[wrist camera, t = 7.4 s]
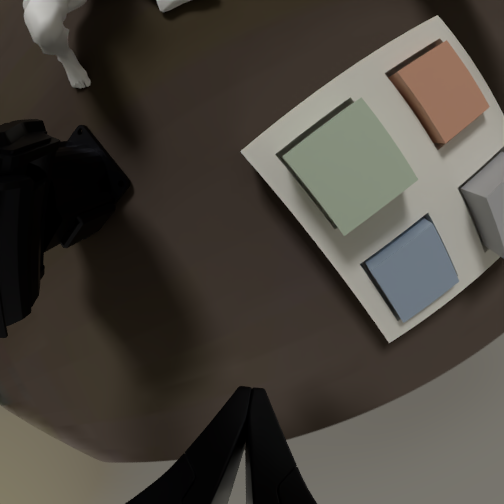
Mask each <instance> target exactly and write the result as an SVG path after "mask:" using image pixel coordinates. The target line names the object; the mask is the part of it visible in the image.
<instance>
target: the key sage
mask: <svg viewBox="0 0 504 504" xmlns="http://www.w3.org/2000/svg"><path fill="white" fill-rule="evenodd" d="M283 158H284V160H285V161H286V162H287V163H288V164H289V166H290V167H291V168H292V169H293V170H294V172H295V173H296V174H297V175H298V177H299V178H300V179H301V180H302V182H303V183H304V184H305V185H306V187H307V188H308V189H309V190H310V192H311V193H312V194H313V195H314V197H315V198H316V199H317V201H318V202H319V203H320V204H321V206H322V207H323V208H324V210H325V211H326V212H327V214H328V215H329V216H330V218H331V219H332V220H333V222H334V223H335V224H336V226H337V227H338V228H339V230H340V231H341V232H342V234H343V235H344V236H345V235H347V234H348V233H349V232H351V231H352V230H353V229H355V228H356V227H357V226H359V225H360V224H361V223H363V222H364V221H365V220H367V219H368V218H369V217H371V216H372V215H373V214H375V213H376V212H377V211H379V210H380V209H381V208H383V207H384V206H385V205H387V204H388V203H389V202H390V201H392V200H393V199H394V198H396V197H397V196H398V195H399V194H401V193H402V192H403V191H405V190H406V189H407V188H408V187H410V186H411V185H412V184H414V183H415V182H416V181H417V180H418V178H417V176H416V175H415V173H414V172H413V170H412V168H411V167H410V165H409V163H408V162H407V160H406V159H405V157H404V156H403V154H402V152H401V151H400V149H399V148H398V146H397V145H396V143H395V142H394V141H393V139H392V138H391V136H390V135H389V133H388V132H387V130H386V129H385V128H384V126H383V125H382V124H381V122H380V121H379V119H378V118H377V117H376V115H375V114H374V113H373V111H372V110H371V109H370V108H369V106H368V105H367V104H366V102H365V101H364V100H363V99H362V97H361V98H360V99H358V100H357V101H355V102H354V103H352V104H351V105H349V106H348V107H346V108H345V109H344V110H342V111H341V112H339V113H338V114H337V115H335V116H334V117H333V118H331V119H330V120H329V121H327V122H326V123H325V124H323V125H322V126H321V127H319V128H318V129H317V130H315V131H314V132H313V133H311V134H310V135H309V136H308V137H306V138H305V139H304V140H302V141H301V142H300V143H299V144H297V145H296V146H295V147H293V148H292V149H291V150H290V151H288V152H287V153H286V154H285V155H283Z"/></svg>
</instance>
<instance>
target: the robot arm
mask: <svg viewBox="0 0 504 504" xmlns="http://www.w3.org/2000/svg"><path fill="white" fill-rule="evenodd" d="M81 130H82V134H81ZM121 181H123V182H124V186H122V185H121ZM129 186H130V181H129V179H128V177H127V176H126V175H125V174H124V173H123V171H122V170H121V169H120V168H119V166H118V165H117V164H116V163H115V161H114V160H113V159H112V158H111V157H110V155H109V154H108V153H107V152H106V150H105V149H104V148H103V147H102V145H101V144H100V143H99V141H98V140H97V139H96V138H95V136H94V135H93V134H92V133H91V131H90V130H89V129H88V127H87V126H85V125H79V126H78V127H77V128H76V129H75V131H74V132H73V134H72V135H71V137H70V138H69V140H68V141H63V142H60V140H59V139H56V138H53V137H51V136H49V135H47V131H46V130H45V126H44V123H43V121H42V120H38V119H28V120H16V121H12V122H10V123H4V124H2V125H0V338H6V337H7V336H8V333H7V328H6V326H9V325H11V324H14V323H16V322H18V321H20V320H22V319H24V318H25V317H26V316H28V315H29V314H30V313H31V307H32V306H33V304H34V303H35V301H36V299H37V297H38V296H39V290H40V280H41V278H42V277H43V275H44V269H45V267H44V265H43V255H44V252H46V251H48V250H49V249H51V248H53V247H55V246H57V245H58V244H61V245H62V247H63V248H68V247H70V246H72V245H74V244H75V243H77V242H79V241H81V240H82V239H86V238H88V237H89V236H90V235H92V234H93V233H95V232H97V231H99V229H100V228H101V227H102V226H103V224H104V223H105V222H106V221H107V219H108V218H109V217H110V216H111V214H112V213H113V212H114V211H115V203H116V202H117V201H118V200H119V199H120V197H121V196H122V195H123V194H124V193H125V192H126V190H127V189H128V188H129ZM245 442H246V447H245ZM244 447H245V451H246V453H245V456H246V504H317V503H316V501H315V500H314V498H313V497H312V495H311V493H310V491H309V490H308V488H307V486H306V484H305V482H304V480H303V478H302V476H301V474H300V472H299V469H298V467H296V466H297V465H296V463H295V461H294V458H293V456H292V453H291V451H290V449H289V446H288V444H287V442H286V439H285V437H284V435H283V432H282V430H281V427H280V425H279V423H278V420H277V418H276V415H275V413H274V411H273V408H272V406H271V403H270V401H269V398H268V396H267V393H266V391H265V389H263V388H251V387H245V386H240V387H238V388H237V390H236V391H235V392H234V394H233V395H232V396H231V397H230V399H229V400H228V401H227V402H226V404H225V405H224V406H223V407H222V409H221V410H220V411H219V412H218V414H217V415H216V416H215V417H214V418H213V420H212V421H211V422H210V423H209V425H208V426H207V427H206V428H205V429H204V430H203V432H202V433H201V434H200V435H199V436H198V438H197V439H196V440H195V441H194V442H193V443H192V445H191V446H190V447H189V448H188V449H187V450H186V451H185V454H183V455H182V456H181V457H180V458H179V459H178V460H177V461H176V462H175V464H174V465H173V466H172V467H171V468H170V469H169V470H168V471H167V472H165V473H164V474H163V475H162V476H161V477H160V478H159V479H158V480H156V481H155V482H154V483H152V484H151V485H150V486H149V487H147V488H146V489H145V490H143V491H142V492H141V493H139V494H138V495H137V496H135V497H134V498H133V499H131V500H130V501H128V502H127V503H126V504H227V503H228V500H229V497H230V494H231V491H232V488H233V484H234V481H235V478H236V474H237V471H238V468H239V464H240V461H241V458H242V454H243V451H244Z"/></svg>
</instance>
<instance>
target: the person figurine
mask: <svg viewBox="0 0 504 504" xmlns="http://www.w3.org/2000/svg"><path fill="white" fill-rule="evenodd" d="M156 1H157V4H158V7H159V10H160V11H162V12H166V11H169V10H171V9H173V8H175V7H177V6H179V5H181V4H183V3H186V2H188V1H191V0H156ZM86 2H87V0H24V2H23V8H24V10H25V12H24V20H25V24H26V25H27V27H28V29H29V32H30V34H31V36H32V39H33V41H34V42H35V43H37V44H38V45H39V46H40V48H41V50H42V52H43V53H44V54H50V55H57V56H58V60H59V61H60V62H62V64H63V66H64V68H65V70H66V73H67V76H68V79H69V81H70V83H71V85H72V87H74V88H75V87H76V88H80V89H81V88H82V87H83V88H85V84H86V86H87V87H88V86H90V82H91V81H90V79H89V77H88V75H87V72H86V71H85V69H84V68H83V67H82V66H81V65H80V64H79V62H78V60H77V58H76V56H75V54H74V52H73V51H72V50H71V49H70V48H69V46H68V34H69V29H67V28H65V27H64V25H63V22H64V20H65V19H66V15H67V13H69V12H71V11H73V10H75V9H77V8H79V7H81V6H83V5H84V4H85V3H86ZM84 83H85V84H84Z"/></svg>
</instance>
